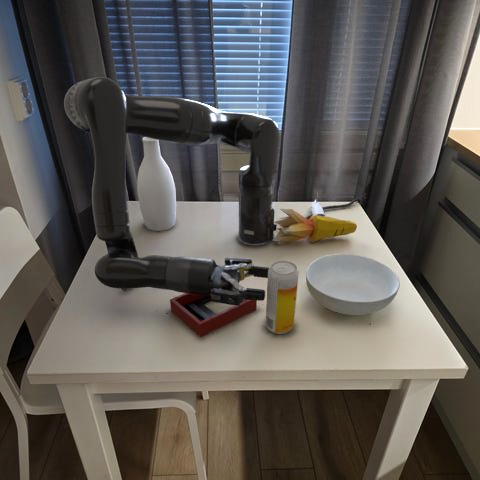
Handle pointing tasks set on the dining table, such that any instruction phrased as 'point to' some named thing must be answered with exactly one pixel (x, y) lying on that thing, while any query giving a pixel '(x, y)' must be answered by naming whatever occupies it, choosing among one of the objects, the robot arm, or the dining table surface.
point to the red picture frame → (207, 312)
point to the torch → (310, 227)
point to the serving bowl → (351, 283)
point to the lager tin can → (281, 296)
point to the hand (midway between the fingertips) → (268, 283)
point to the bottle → (156, 189)
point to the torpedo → (317, 208)
